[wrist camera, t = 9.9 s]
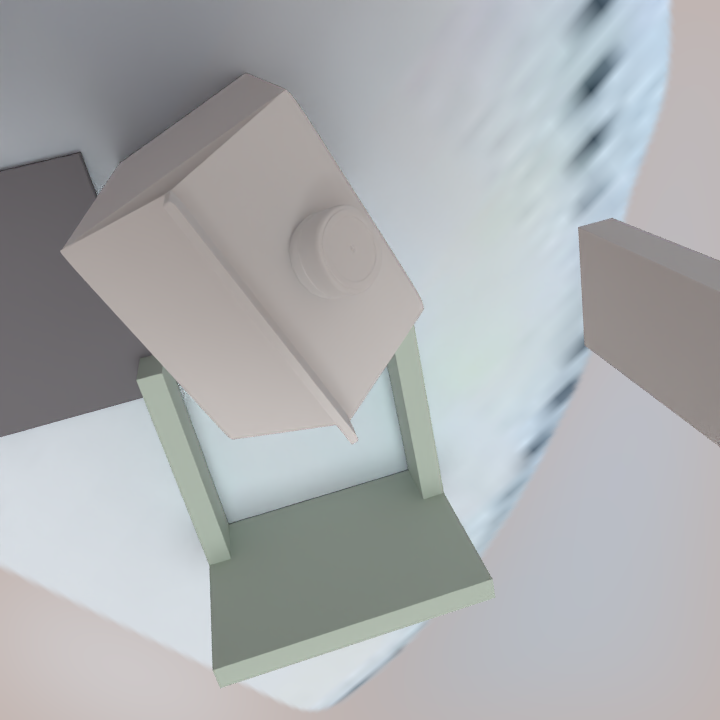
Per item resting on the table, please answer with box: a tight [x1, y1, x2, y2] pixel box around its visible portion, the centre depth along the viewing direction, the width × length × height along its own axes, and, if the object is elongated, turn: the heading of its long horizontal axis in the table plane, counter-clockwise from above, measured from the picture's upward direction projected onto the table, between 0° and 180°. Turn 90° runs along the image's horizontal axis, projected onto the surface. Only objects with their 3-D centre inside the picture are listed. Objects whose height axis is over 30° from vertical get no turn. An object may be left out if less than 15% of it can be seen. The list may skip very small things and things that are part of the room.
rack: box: [136, 325, 495, 688], centre depth 33 cm, size 13×13×10 cm
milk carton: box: [60, 73, 424, 444], centre depth 23 cm, size 7×7×19 cm
